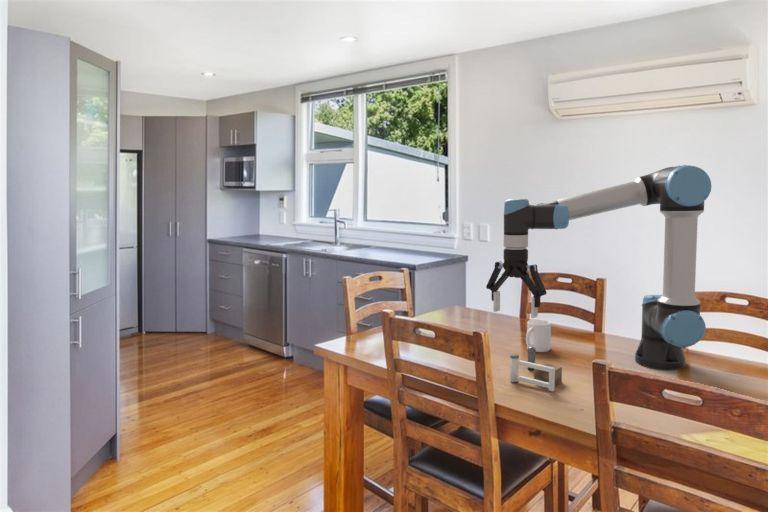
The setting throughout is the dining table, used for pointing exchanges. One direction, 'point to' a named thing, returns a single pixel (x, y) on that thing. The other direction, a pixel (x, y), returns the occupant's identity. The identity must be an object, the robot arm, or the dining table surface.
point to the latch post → (531, 356)
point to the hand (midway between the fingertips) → (515, 314)
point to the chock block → (545, 375)
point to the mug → (539, 335)
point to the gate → (515, 362)
